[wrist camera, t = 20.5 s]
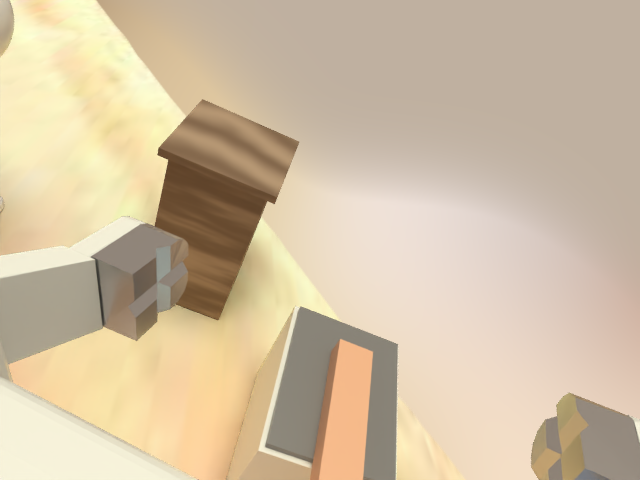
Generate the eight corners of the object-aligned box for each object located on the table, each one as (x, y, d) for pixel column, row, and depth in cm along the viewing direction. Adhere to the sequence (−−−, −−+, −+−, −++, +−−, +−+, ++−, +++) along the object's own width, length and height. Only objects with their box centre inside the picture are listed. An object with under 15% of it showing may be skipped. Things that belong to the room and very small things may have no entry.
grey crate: (331, 542, 53) (400, 494, 43) (217, 506, 51) (260, 446, 41) (347, 404, 67) (401, 342, 57) (257, 371, 65) (297, 301, 55)
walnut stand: (222, 327, 68) (277, 197, 52) (131, 293, 66) (158, 147, 50) (247, 265, 79) (299, 141, 63) (169, 234, 77) (202, 99, 61)
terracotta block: (339, 615, 34) (352, 609, 33) (289, 600, 34) (301, 593, 32) (363, 363, 52) (373, 351, 50) (331, 351, 52) (340, 338, 50)
